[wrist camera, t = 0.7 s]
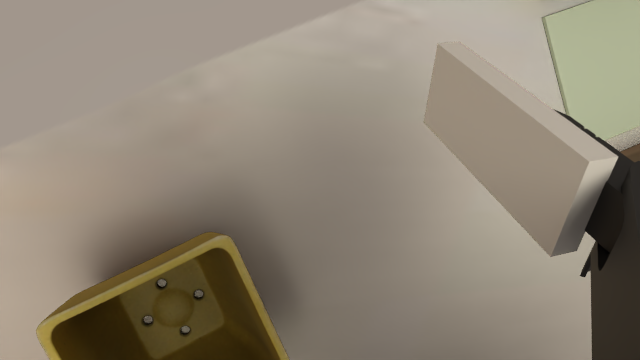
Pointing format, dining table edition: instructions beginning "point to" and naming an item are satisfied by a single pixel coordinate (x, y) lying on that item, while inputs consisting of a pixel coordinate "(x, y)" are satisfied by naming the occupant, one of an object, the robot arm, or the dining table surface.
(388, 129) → the dining table surface
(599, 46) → the pad
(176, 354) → the flower pot
